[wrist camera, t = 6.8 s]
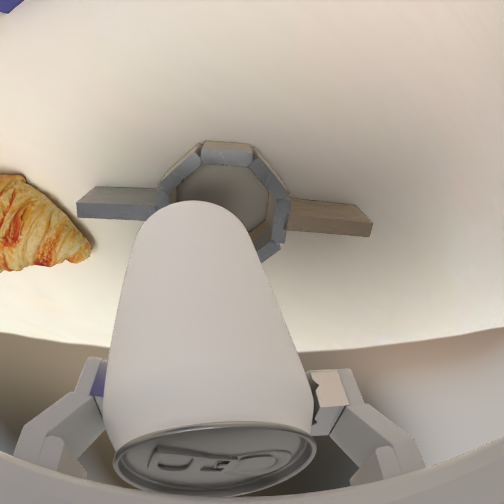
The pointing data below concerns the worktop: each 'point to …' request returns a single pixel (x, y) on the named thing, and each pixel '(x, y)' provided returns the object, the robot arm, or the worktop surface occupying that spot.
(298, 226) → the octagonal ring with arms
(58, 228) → the croissant
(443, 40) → the worktop surface
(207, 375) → the can
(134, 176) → the worktop surface
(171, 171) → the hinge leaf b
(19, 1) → the cereal box
